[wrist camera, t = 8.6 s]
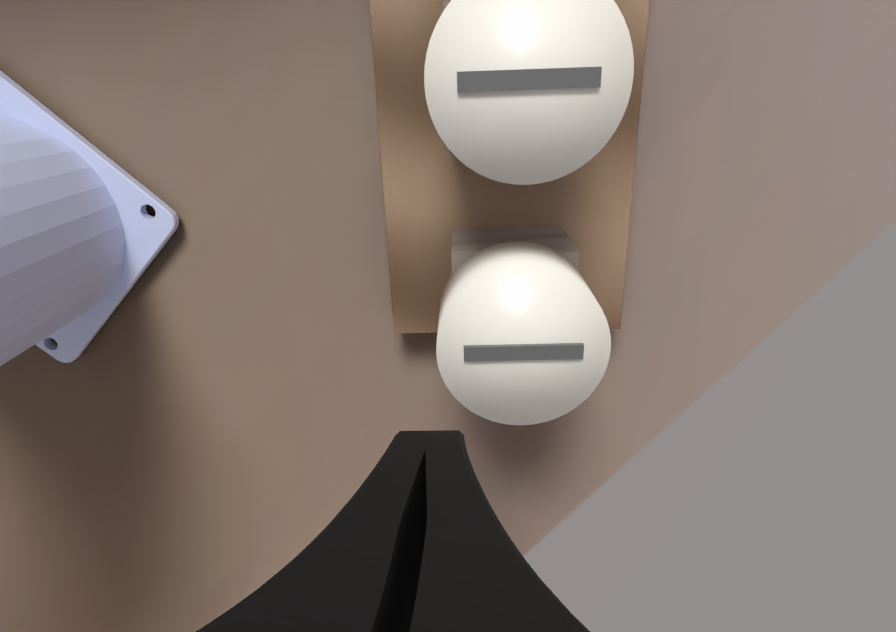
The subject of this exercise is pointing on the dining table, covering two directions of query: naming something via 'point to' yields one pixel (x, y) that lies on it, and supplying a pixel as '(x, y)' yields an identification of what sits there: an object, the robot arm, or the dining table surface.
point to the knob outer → (520, 335)
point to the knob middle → (528, 84)
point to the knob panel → (488, 182)
